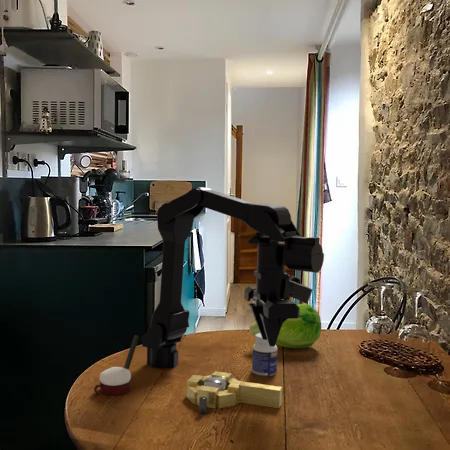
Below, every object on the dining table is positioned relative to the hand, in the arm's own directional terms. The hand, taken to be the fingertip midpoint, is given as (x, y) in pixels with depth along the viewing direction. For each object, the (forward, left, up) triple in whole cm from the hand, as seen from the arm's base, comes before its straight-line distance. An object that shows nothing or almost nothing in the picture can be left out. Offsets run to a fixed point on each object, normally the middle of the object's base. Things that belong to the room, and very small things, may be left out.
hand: (268, 342), depth 109 cm
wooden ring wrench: (-5, -5, -11) cm, 13 cm away
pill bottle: (-3, +12, -12) cm, 18 cm away
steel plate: (-9, -6, -12) cm, 16 cm away
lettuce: (-3, +36, -12) cm, 39 cm away
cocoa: (-29, -10, -12) cm, 33 cm away
